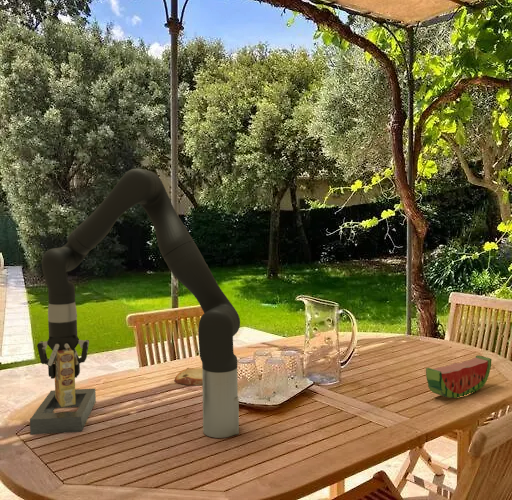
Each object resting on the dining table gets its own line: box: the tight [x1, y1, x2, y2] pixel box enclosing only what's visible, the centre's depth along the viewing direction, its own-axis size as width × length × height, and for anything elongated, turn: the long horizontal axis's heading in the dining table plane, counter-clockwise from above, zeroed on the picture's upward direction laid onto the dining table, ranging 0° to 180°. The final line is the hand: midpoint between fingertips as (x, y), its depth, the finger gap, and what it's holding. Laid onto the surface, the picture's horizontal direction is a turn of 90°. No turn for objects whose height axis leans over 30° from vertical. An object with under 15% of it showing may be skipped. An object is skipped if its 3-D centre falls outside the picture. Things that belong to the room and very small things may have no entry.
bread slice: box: [173, 367, 203, 387], centre depth 181 cm, size 18×18×4 cm
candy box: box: [54, 350, 76, 407], centre depth 148 cm, size 9×4×15 cm, turn 32°
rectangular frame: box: [29, 388, 97, 435], centre depth 149 cm, size 13×22×4 cm, turn 8°
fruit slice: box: [425, 355, 492, 399], centre depth 165 cm, size 26×6×10 cm, turn 123°
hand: (64, 377), depth 148 cm, fingers closed on candy box, 5 cm apart
